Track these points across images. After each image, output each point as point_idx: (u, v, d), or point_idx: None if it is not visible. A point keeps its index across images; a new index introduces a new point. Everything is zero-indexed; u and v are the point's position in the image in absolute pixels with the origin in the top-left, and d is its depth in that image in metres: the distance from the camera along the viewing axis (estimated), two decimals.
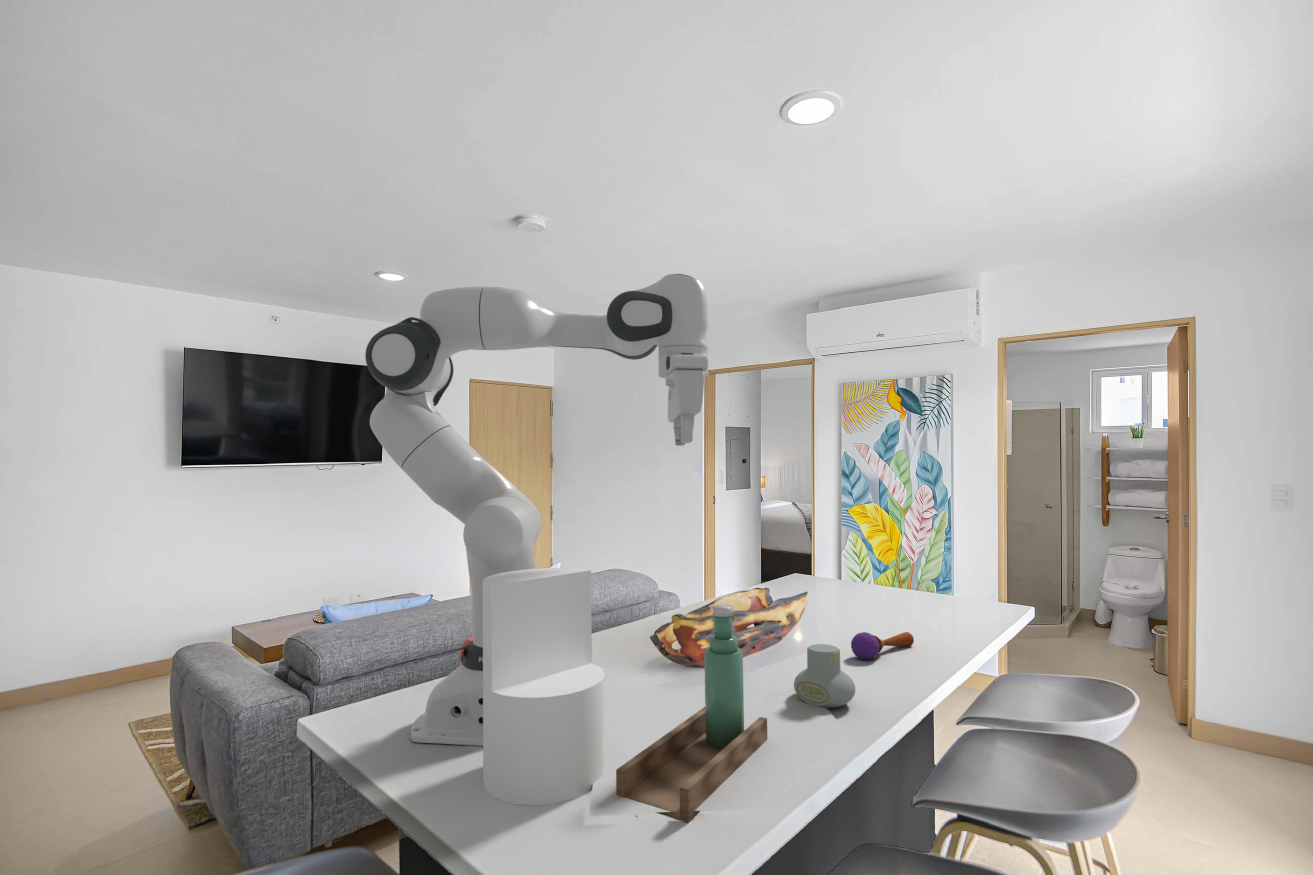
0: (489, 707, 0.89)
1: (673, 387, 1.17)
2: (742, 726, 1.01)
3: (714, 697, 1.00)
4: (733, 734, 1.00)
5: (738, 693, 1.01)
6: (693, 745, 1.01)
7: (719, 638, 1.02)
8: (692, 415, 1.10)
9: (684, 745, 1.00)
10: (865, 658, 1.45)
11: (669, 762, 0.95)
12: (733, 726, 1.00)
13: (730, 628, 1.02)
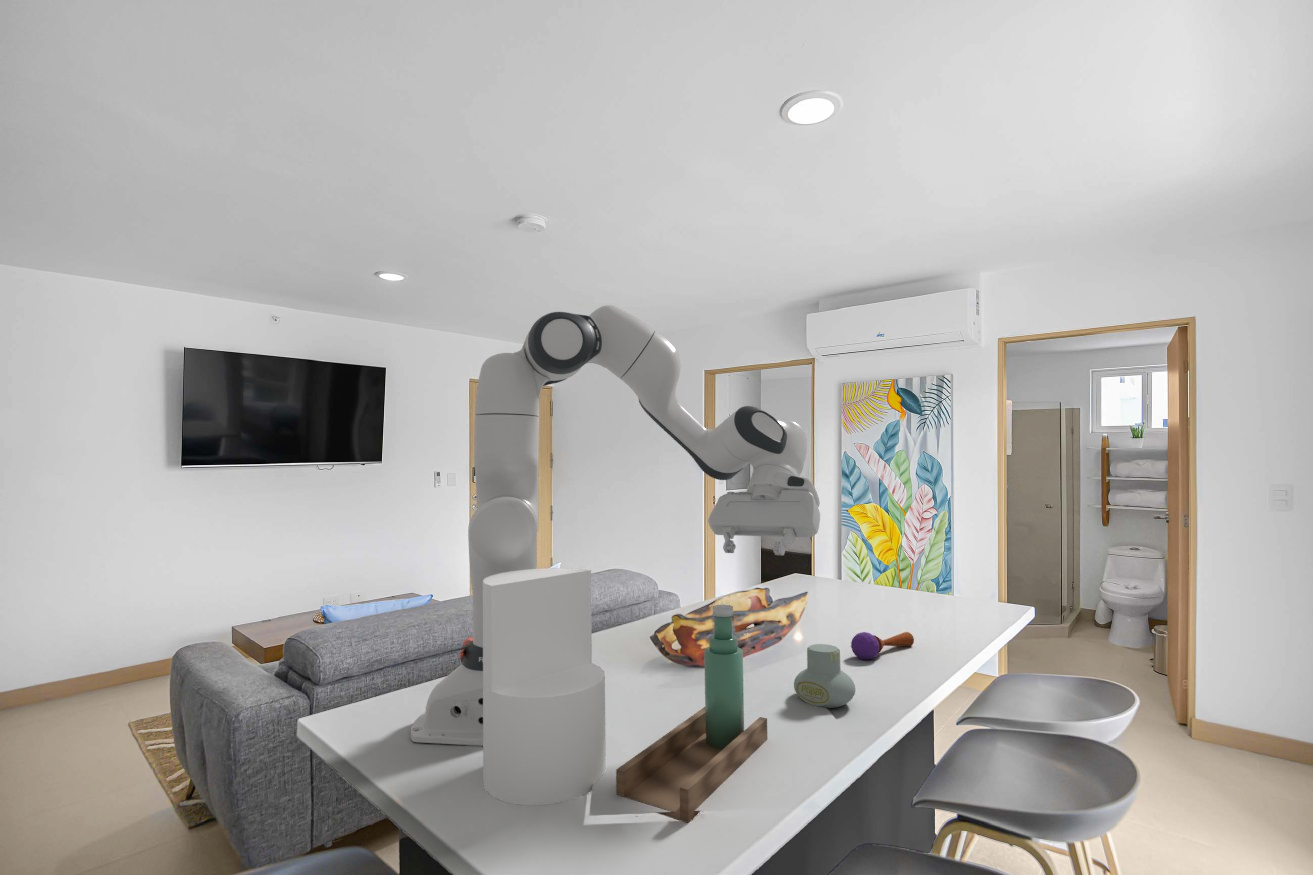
0: (489, 707, 0.89)
1: (761, 501, 1.20)
2: (742, 726, 1.01)
3: (714, 697, 1.00)
4: (733, 734, 1.00)
5: (738, 693, 1.01)
6: (693, 745, 1.01)
7: (719, 638, 1.02)
8: (795, 535, 1.14)
9: (684, 745, 1.00)
10: (865, 658, 1.45)
11: (669, 762, 0.95)
12: (733, 726, 1.00)
13: (730, 628, 1.02)
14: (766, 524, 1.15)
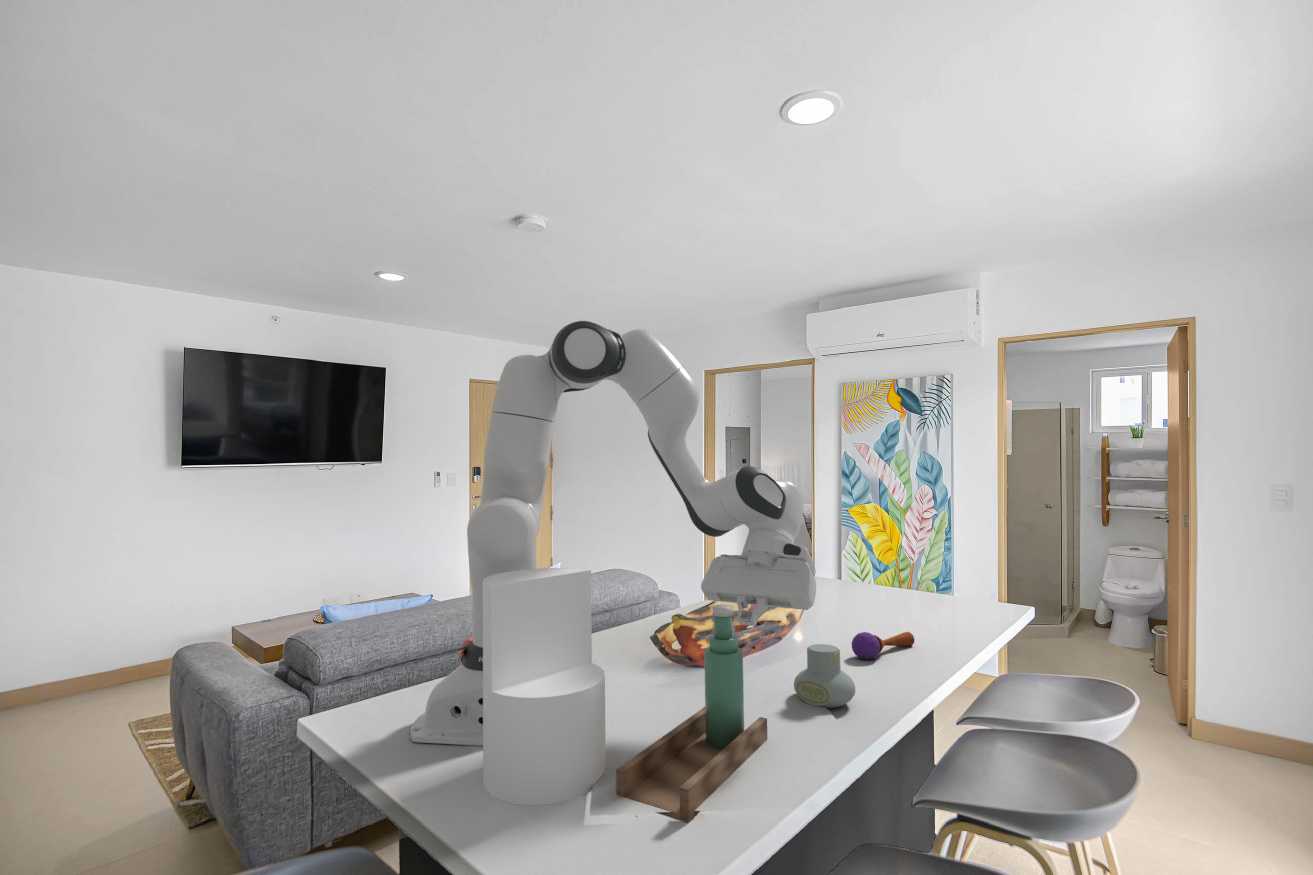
0: (489, 707, 0.89)
1: (755, 568, 1.16)
2: (742, 726, 1.01)
3: (714, 697, 1.00)
4: (733, 734, 1.00)
5: (738, 693, 1.01)
6: (693, 745, 1.01)
7: (719, 638, 1.02)
8: (768, 604, 1.13)
9: (684, 745, 1.00)
10: (866, 658, 1.45)
11: (669, 762, 0.95)
12: (733, 726, 1.00)
13: (730, 628, 1.02)
14: (761, 594, 1.12)
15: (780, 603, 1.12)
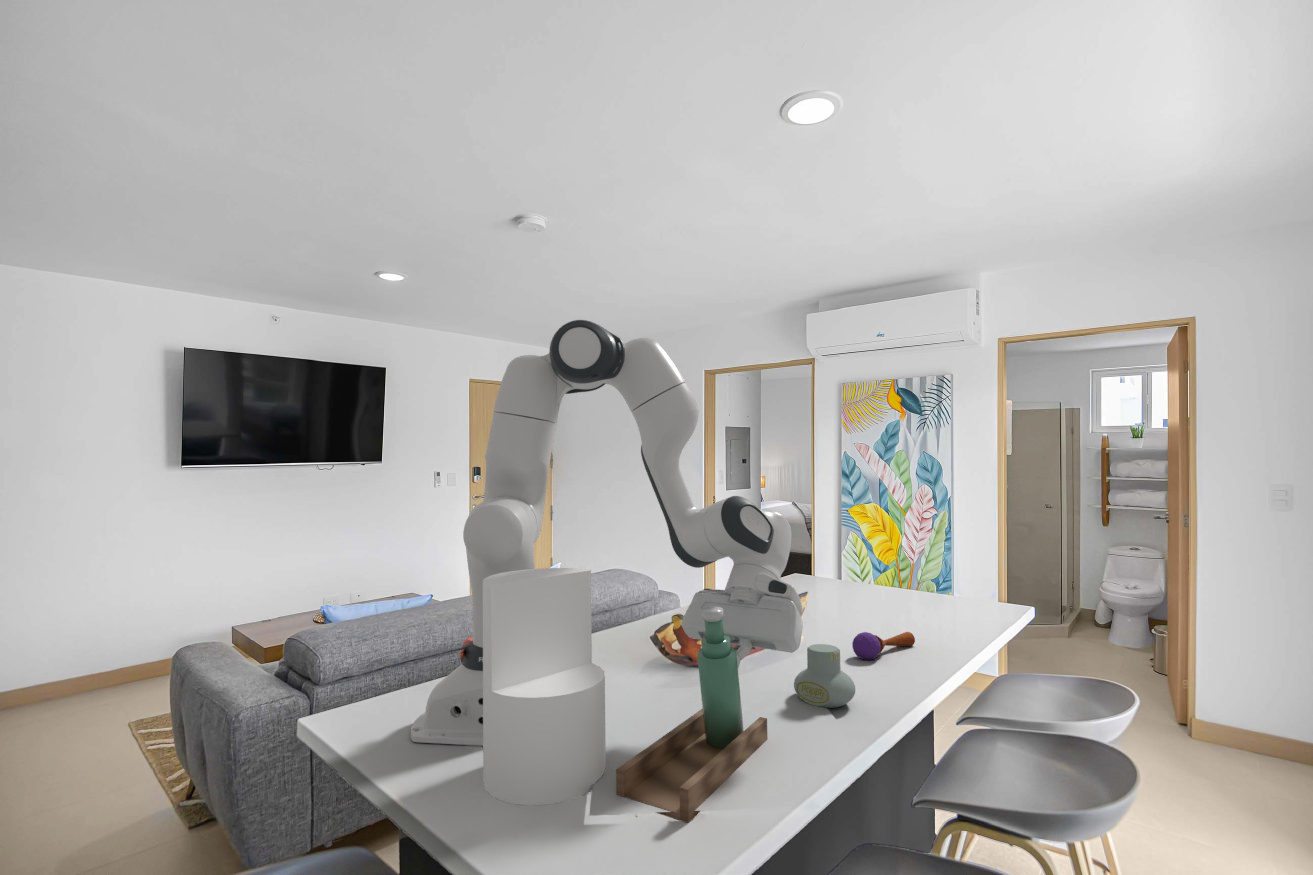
0: (489, 707, 0.89)
1: (739, 605, 1.10)
2: (741, 724, 1.01)
3: (711, 700, 0.99)
4: (732, 734, 0.99)
5: (734, 694, 0.99)
6: (693, 745, 1.01)
7: (711, 642, 0.99)
8: (751, 645, 1.06)
9: (684, 745, 1.00)
10: (866, 658, 1.45)
11: (669, 762, 0.95)
12: (731, 727, 0.99)
13: (722, 631, 1.00)
14: (744, 635, 1.06)
15: (764, 644, 1.06)
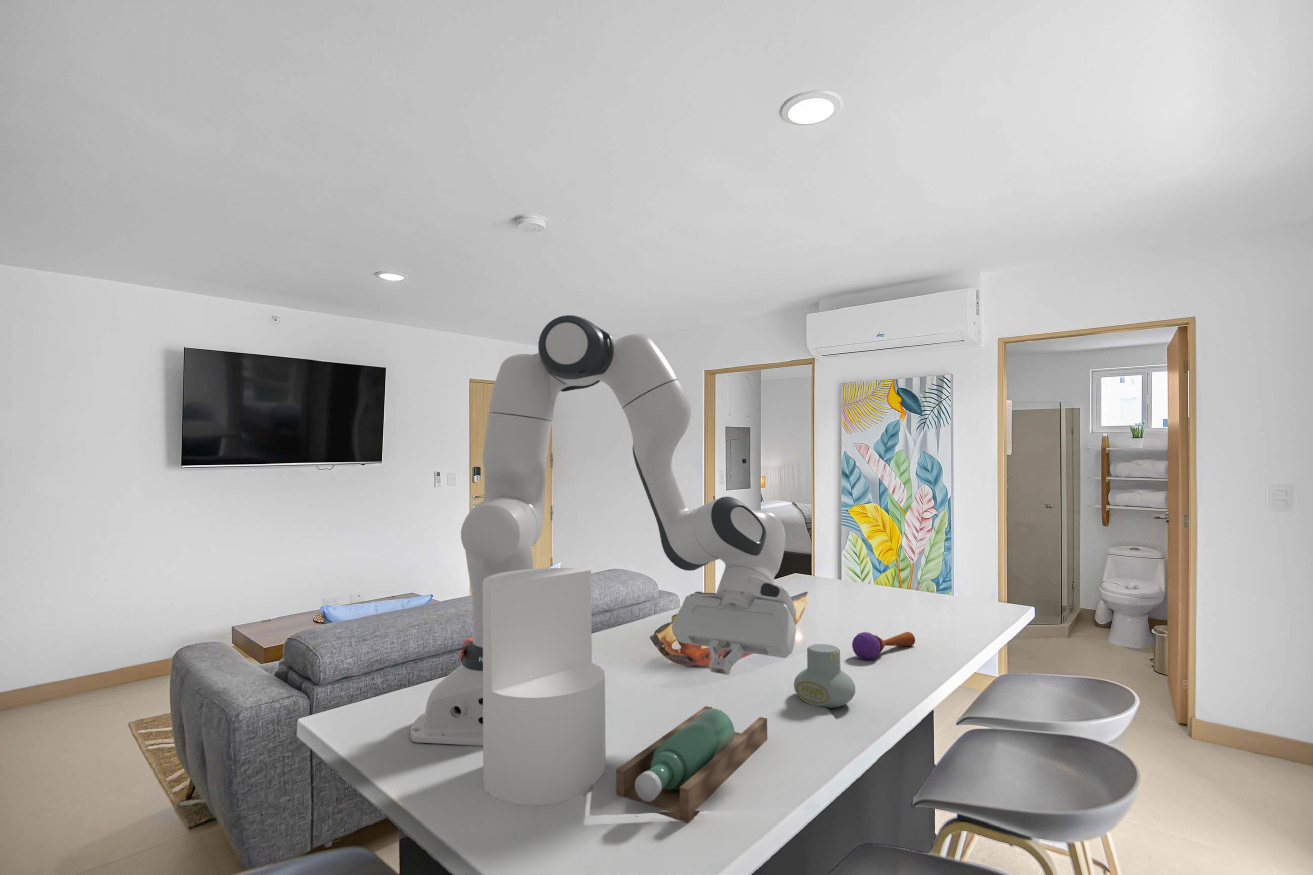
0: (489, 707, 0.89)
1: (730, 609, 1.07)
2: (726, 739, 0.96)
3: None
4: None
5: None
6: None
7: None
8: (742, 650, 1.03)
9: None
10: (866, 658, 1.46)
11: None
12: None
13: (667, 781, 0.84)
14: (735, 639, 1.03)
15: (756, 649, 1.03)
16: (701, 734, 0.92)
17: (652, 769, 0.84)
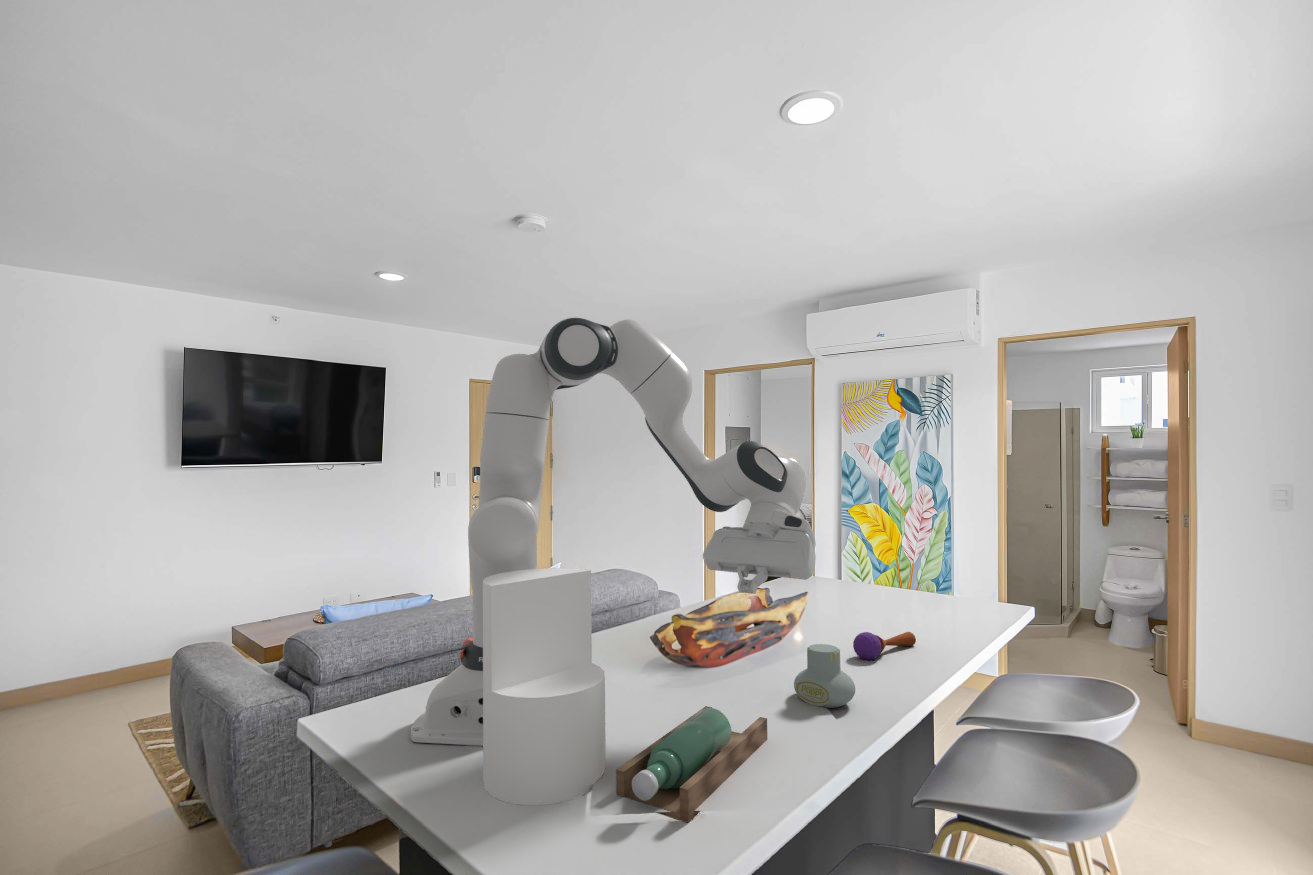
0: (489, 707, 0.89)
1: (757, 539, 1.19)
2: (723, 735, 0.96)
3: None
4: (723, 747, 0.97)
5: (707, 756, 0.92)
6: None
7: None
8: (767, 574, 1.15)
9: None
10: (867, 658, 1.46)
11: None
12: (719, 750, 0.96)
13: (664, 778, 0.84)
14: (761, 563, 1.14)
15: (780, 573, 1.15)
16: (695, 731, 0.92)
17: (648, 769, 0.84)
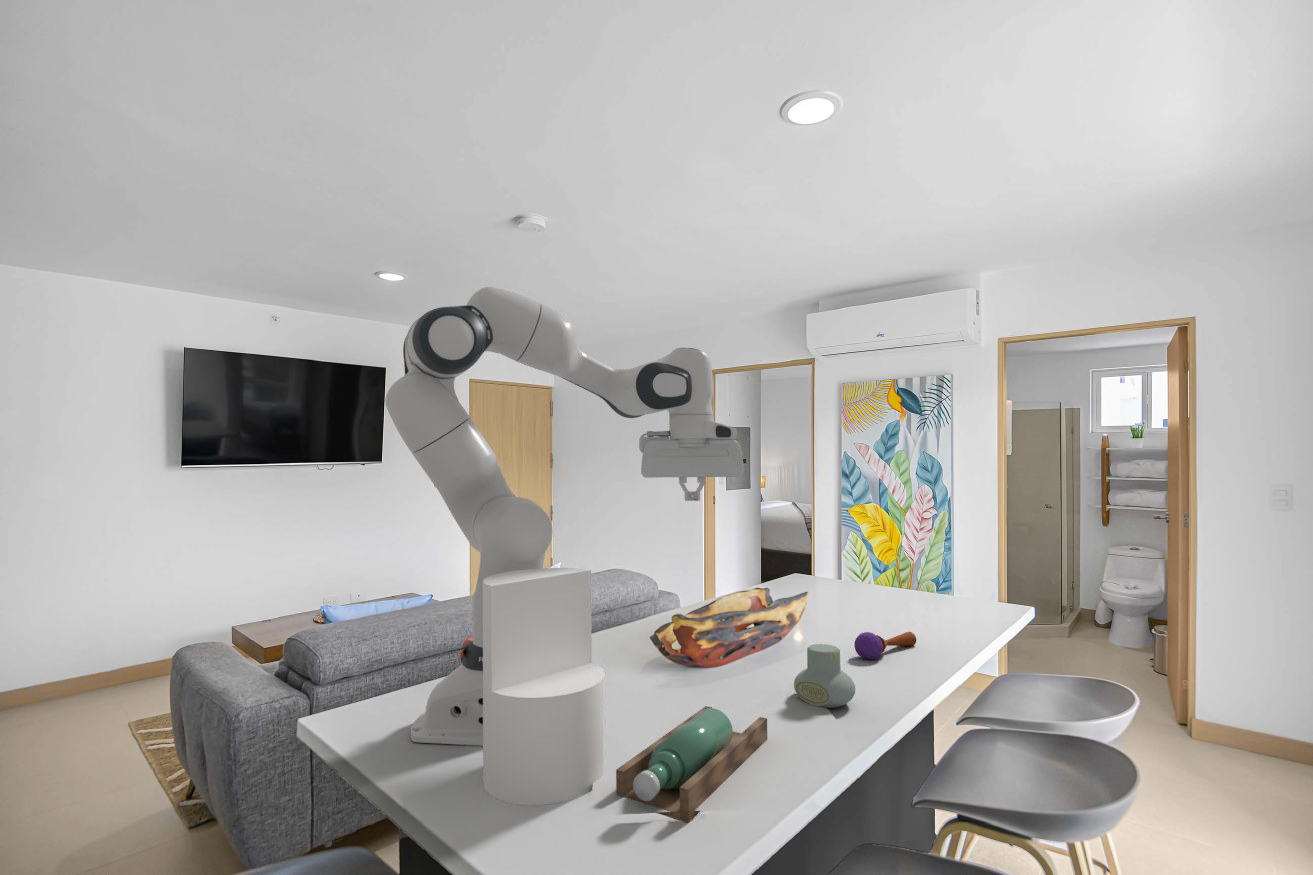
0: (489, 707, 0.89)
1: (690, 449, 1.28)
2: (724, 737, 0.96)
3: None
4: (723, 748, 0.97)
5: (708, 758, 0.92)
6: None
7: None
8: None
9: None
10: (869, 658, 1.45)
11: None
12: (720, 751, 0.96)
13: (666, 780, 0.84)
14: (702, 475, 1.28)
15: None
16: (698, 732, 0.92)
17: (650, 769, 0.84)
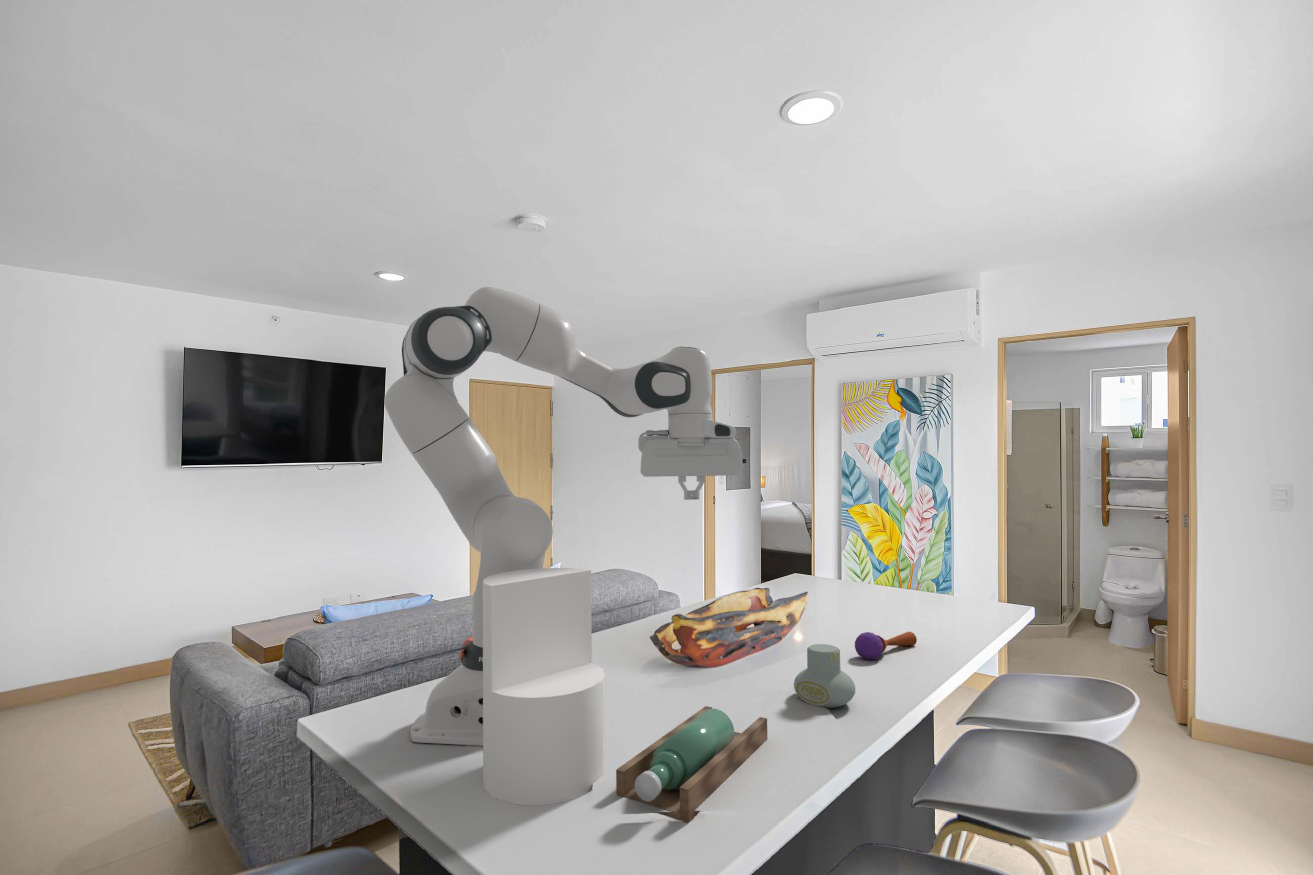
0: (489, 707, 0.89)
1: (689, 448, 1.28)
2: (726, 739, 0.96)
3: None
4: None
5: None
6: None
7: None
8: None
9: None
10: (869, 658, 1.45)
11: None
12: None
13: (667, 781, 0.84)
14: (701, 474, 1.28)
15: None
16: (701, 734, 0.92)
17: (652, 769, 0.84)
